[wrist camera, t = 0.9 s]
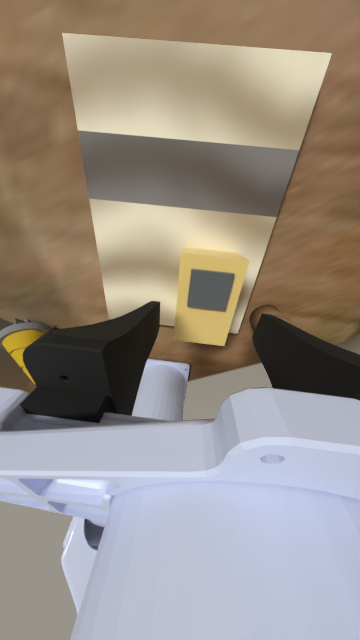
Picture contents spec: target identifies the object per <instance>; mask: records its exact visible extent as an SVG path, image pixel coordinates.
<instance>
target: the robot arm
mask: <svg viewBox="0 0 360 640" xmlns="http://www.w3.org/2000/svg"><path fill="white" fill-rule="evenodd" d="M159 327H160V302H158V301H150V302H148V303H146V304H145V305H143V306H141V307H139V308H137V309H135V310H133V311H131V312H129V313H127V314H125V315H122V316H120V317H117V318H114V319H111V320H108V321H104V322H100V323H96V324H92V325H87V326H81V327H74V328H65V329H55V330H49V331H48V332H47V333H45V334H44V335H42V336H41V337H40V338H38V339H37V340H36V341H34V342H33V343H32V344H30V345H29V346H27V347H26V348H25V349H24V352H23V362H24V365H25V367H26V369H27V370H28V372H29V374H30V375H31V377H32V379H33V381H34V382H35V384H36V386H37V388H36V389H35V390H34V391H33V392H32V393H31V394H30V393H28V392H26V391H24V390H20V389H12V388H5V387H0V501H2V502H7V503H13V504H17V505H23V506H28V507H33V508H37V509H42V510H46V511H51V512H56V513H61V514H66V515H70V516H73V519H72V521H71V524H70V527H69V530H68V532H67V535H66V538H65V540H64V543H63V547H64V552H63V554H62V557H61V563H62V567H63V570H64V573H65V576H66V579H67V582H68V585H69V588H70V591H71V594H72V597H73V600H74V603H75V606H76V609H77V614H78V615H77V619H76V622H75V625H74V628H73V632H72V635H71V638H70V640H360V355H359V354H356V353H354V352H351V351H348V350H345V349H343V348H340V347H338V346H335V345H333V344H330V343H328V342H326V341H323V340H321V339H319V338H317V337H315V336H313V335H311V334H309V333H307V332H305V331H303V330H301V329H299V328H297V327H295V326H293V325H292V324H290V323H288V322H286V321H284V320H282V319H280V318H278V317H276V316H274V315H271V314H263V313H262V314H261V317H260V319H259V322H258V324H257V326H256V329H255V331H254V334H253V336H252V337H253V341H254V345H255V348H256V351H257V353H258V355H259V357H260V359H261V361H262V364H263V365H264V368H265V370H266V372H267V374H268V376H269V379H270V381H271V384H272V387H273V388H267V387H264V388H263V387H261V388H246V389H244V390H241V391H239V392H236V393H234V394H232V395H231V396H230V397H229V398H228V399H227V400H226V401H225V402H224V403H223V404H222V405H221V408H220V410H219V413H218V416H217V418H216V419H203V420H186V421H182V417H183V402H184V399H185V393H186V386H187V381H188V375H189V369H190V365H189V364H187V363H179V362H171V361H163V360H154V359H148V357H149V355H150V352H151V350H152V347H153V345H154V343H155V340H156V338H157V335H158V331H159Z"/></svg>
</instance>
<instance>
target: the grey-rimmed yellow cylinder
mask: <svg viewBox="0 0 360 640" xmlns="http://www.w3.org/2000/svg"><path fill="white" fill-rule="evenodd" d="M49 330H52V328H51V327H50V326H48V325H46V324H43V323H37V322H29V321H27V320H26V319H24V321H22V320H19V319H16V318H15V324H14V325H11V326H9V327H6V328H4V329H3V330H1V331H0V348H1V349H3V350H6V351H8V352H9V353H10V355H11V356H12V357H13V358H14V360H15V361H16V362H17V363H18V365H19V366H20V367H21V368H23V370H24V372H25V373H26V374H27V376H28V377H29V378H30V379H31V381H32V382H34V381H33V379H32V377H31V375H30V374H29V372H28V370H27V369H26V367H25V365H24V362H23V352H24V349H25V348H26V347H27V346H29V345H30V344H32V343H33V342H34V341H36V340H37V339H38V338H40V337H41V336H42V335H44V334H45V333H47V332H48V331H49ZM34 384H35V382H34Z"/></svg>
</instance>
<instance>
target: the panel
mask: <svg viewBox="0 0 360 640" xmlns="http://www.w3.org/2000/svg"><path fill="white" fill-rule="evenodd" d="M62 35H63V42H64V48H65V54H66V60H67V66H68V72H69V78H70V84H71V90H72V96H73V103H74V109H75V115H76V121H77V127H78V133H79V139H80V145H81V151H82V157H83V164H84V170H85V176H86V182H87V188H88V194H89V200H90V206H91V212H92V218H93V225H94V231H95V237H96V243H97V249H98V255H99V261H100V267H101V273H102V279H103V285H104V292H105V298H106V304H107V310H108V316H109V319H114V318H117V317H120V316H122V315H125V314H127V313H129V312H131V311H133V310H135V309H137V308H139V307H141V306H143V305H145V304H146V303H148V302H150V301H158V302H160V325H167V326H175V316H176V304H177V292H178V281H179V269H180V257H181V252H182V250H183V248H184V247H189V248H198V249H208V250H217V251H227V252H236V253H239V254H240V255H242V256H243V257H245V258H247V259H248V260H250V262H249V265H248V268H247V272H246V275H245V278H244V282H243V285H242V288H241V292H240V295H239V298H238V302H237V305H236V309H235V312H234V315H233V319H232V322H231V325H230V329H229V332H228V333H235V334H238V331H239V328H240V325H241V322H242V319H243V316H244V313H245V310H246V307H247V304H248V301H249V298H250V295H251V292H252V289H253V286H254V283H255V280H256V277H257V275H258V272H259V269H260V266H261V263H262V260H263V257H264V254H265V251H266V248H267V245H268V242H269V239H270V236H271V233H272V230H273V227H274V224H275V221H276V218H277V215H278V212H279V209H280V206H281V203H282V200H283V197H284V194H285V191H286V188H287V185H288V182H289V179H290V176H291V173H292V170H293V167H294V165H295V162H296V159H297V156H298V153H299V150H300V147H301V144H302V141H303V138H304V135H305V132H306V129H307V126H308V123H309V120H310V117H311V114H312V111H313V108H314V105H315V102H316V99H317V96H318V93H319V90H320V87H321V84H322V81H323V78H324V75H325V72H326V69H327V66H328V63H329V60H330V57H331V55H332V53H322V52H309V51H295V50H282V49H269V48H255V47H242V46H229V45H215V44H202V43H189V42H175V41H162V40H149V39H135V38H122V37H109V36H95V35H82V34H69V33H62Z"/></svg>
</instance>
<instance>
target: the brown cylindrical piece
mask: <svg viewBox="0 0 360 640" xmlns="http://www.w3.org/2000/svg"><path fill="white" fill-rule="evenodd" d="M262 313H263V314H271V315H274V316H276V317H278V318H280V319H282V320H284V321H286V322H288V323H290V324H292V323H291V322H290V321H289V320H288V319H287V318H286V317H285V316H284V315H283V314H282V313H281V312H280V311H279V310H278V309H277V308H276V307H275V306H272V305H263V306H260V307H258V308H256V309H255V310H254V311H253V312H252V314H251V316H250V323H251V325H252V327H253V328H254V330H255V329H256V326H257V324H258V322H259V319H260V317H261V314H262ZM292 325H293V324H292ZM293 326H294V325H293Z"/></svg>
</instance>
